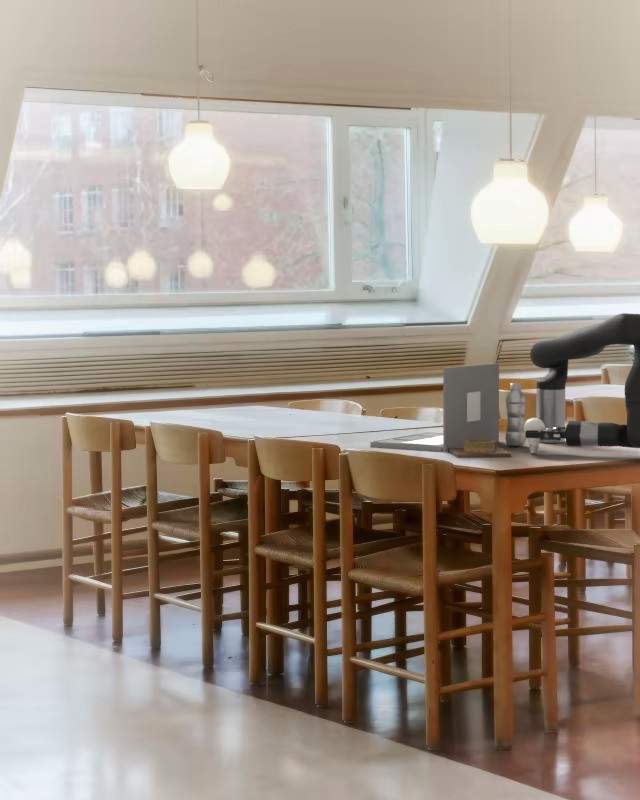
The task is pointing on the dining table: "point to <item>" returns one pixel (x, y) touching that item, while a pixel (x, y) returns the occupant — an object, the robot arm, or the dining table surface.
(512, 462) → the dining table surface
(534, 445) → the lightbulb
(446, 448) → the laptop
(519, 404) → the plastic bottle
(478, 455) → the brown board with block
